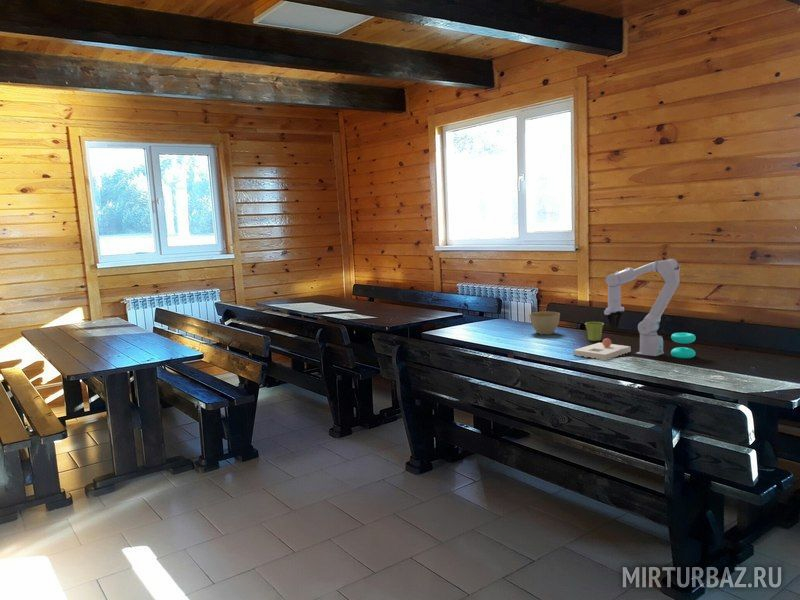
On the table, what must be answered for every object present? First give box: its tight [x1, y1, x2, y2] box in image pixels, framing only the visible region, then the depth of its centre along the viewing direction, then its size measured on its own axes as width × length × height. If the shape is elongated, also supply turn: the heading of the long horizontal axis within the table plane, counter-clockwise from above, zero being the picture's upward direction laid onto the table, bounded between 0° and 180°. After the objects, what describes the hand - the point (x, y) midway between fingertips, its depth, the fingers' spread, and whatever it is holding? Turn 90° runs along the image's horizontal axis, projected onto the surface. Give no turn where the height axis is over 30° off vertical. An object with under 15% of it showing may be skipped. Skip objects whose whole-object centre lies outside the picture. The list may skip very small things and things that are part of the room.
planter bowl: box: [529, 311, 561, 335], centre depth 345 cm, size 16×16×11 cm
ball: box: [601, 337, 612, 347], centre depth 292 cm, size 4×4×4 cm
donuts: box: [670, 332, 697, 359], centre depth 278 cm, size 10×10×10 cm
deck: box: [573, 342, 632, 361], centre depth 290 cm, size 16×22×2 cm
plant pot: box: [584, 321, 605, 342], centre depth 322 cm, size 9×9×9 cm
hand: (614, 328), depth 296 cm, fingers open, 2 cm apart
